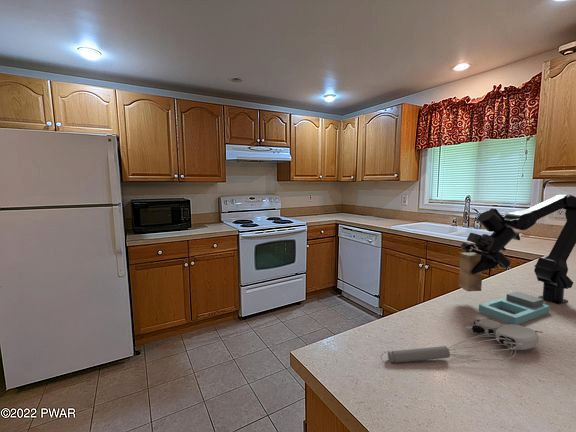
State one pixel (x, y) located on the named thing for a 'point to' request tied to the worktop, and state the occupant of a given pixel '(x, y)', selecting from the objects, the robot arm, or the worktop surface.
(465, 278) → the upright wooden block
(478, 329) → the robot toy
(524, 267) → the worktop surface
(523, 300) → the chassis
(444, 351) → the kitchen whisk
